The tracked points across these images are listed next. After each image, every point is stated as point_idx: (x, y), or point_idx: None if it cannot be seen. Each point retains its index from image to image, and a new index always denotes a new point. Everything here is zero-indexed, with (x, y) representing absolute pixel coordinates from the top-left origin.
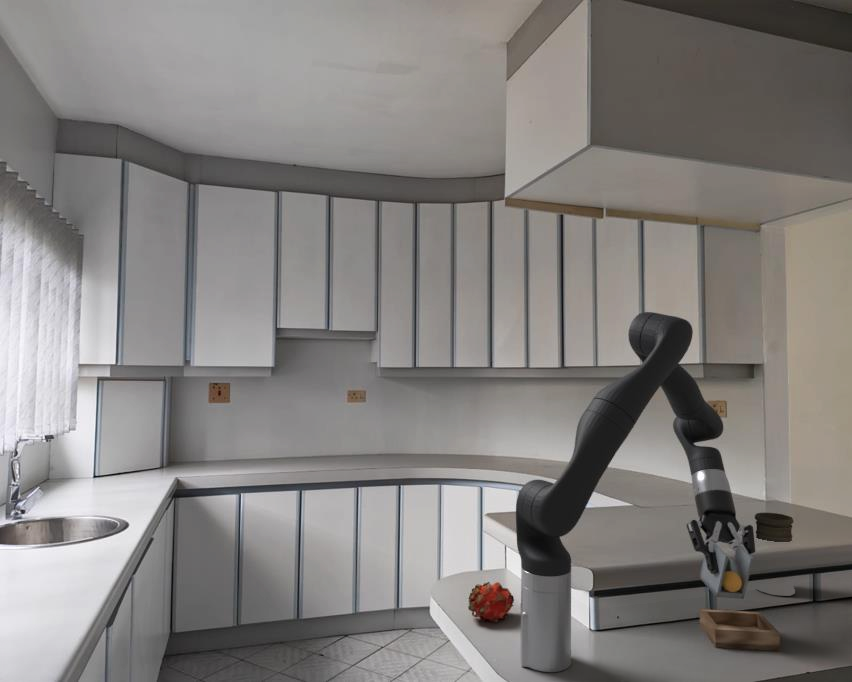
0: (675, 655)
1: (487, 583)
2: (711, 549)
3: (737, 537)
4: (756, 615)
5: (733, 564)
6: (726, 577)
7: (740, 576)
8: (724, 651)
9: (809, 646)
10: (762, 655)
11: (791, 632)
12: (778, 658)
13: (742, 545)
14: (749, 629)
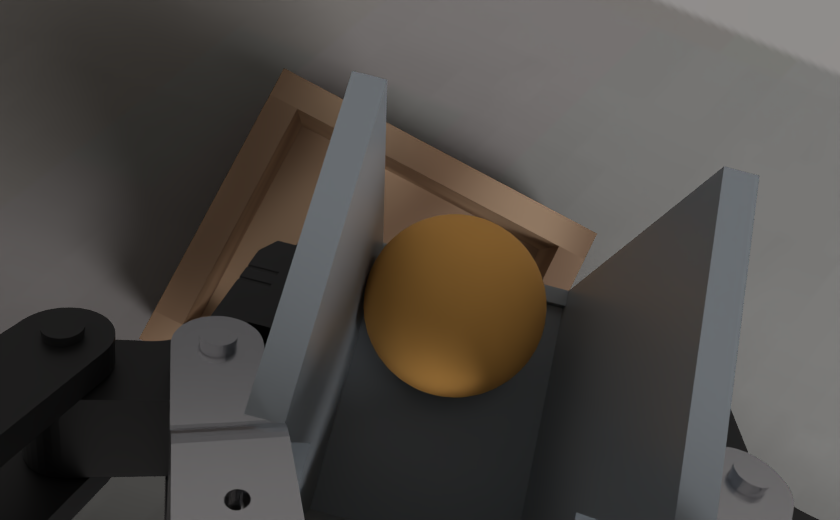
0: (794, 239)
1: None
2: (760, 468)
3: (224, 515)
4: (187, 319)
5: (312, 435)
6: (540, 285)
7: (360, 287)
8: (554, 191)
9: (94, 78)
10: (414, 94)
11: (27, 237)
12: (366, 43)
13: (189, 416)
14: (415, 162)
